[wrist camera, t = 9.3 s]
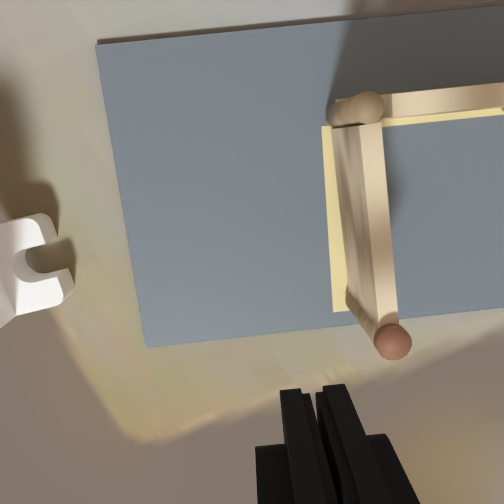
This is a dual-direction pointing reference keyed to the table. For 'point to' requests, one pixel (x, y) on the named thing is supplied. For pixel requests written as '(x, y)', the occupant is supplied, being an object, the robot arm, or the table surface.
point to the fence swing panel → (366, 220)
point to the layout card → (301, 171)
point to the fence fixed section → (443, 101)
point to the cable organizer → (28, 269)
